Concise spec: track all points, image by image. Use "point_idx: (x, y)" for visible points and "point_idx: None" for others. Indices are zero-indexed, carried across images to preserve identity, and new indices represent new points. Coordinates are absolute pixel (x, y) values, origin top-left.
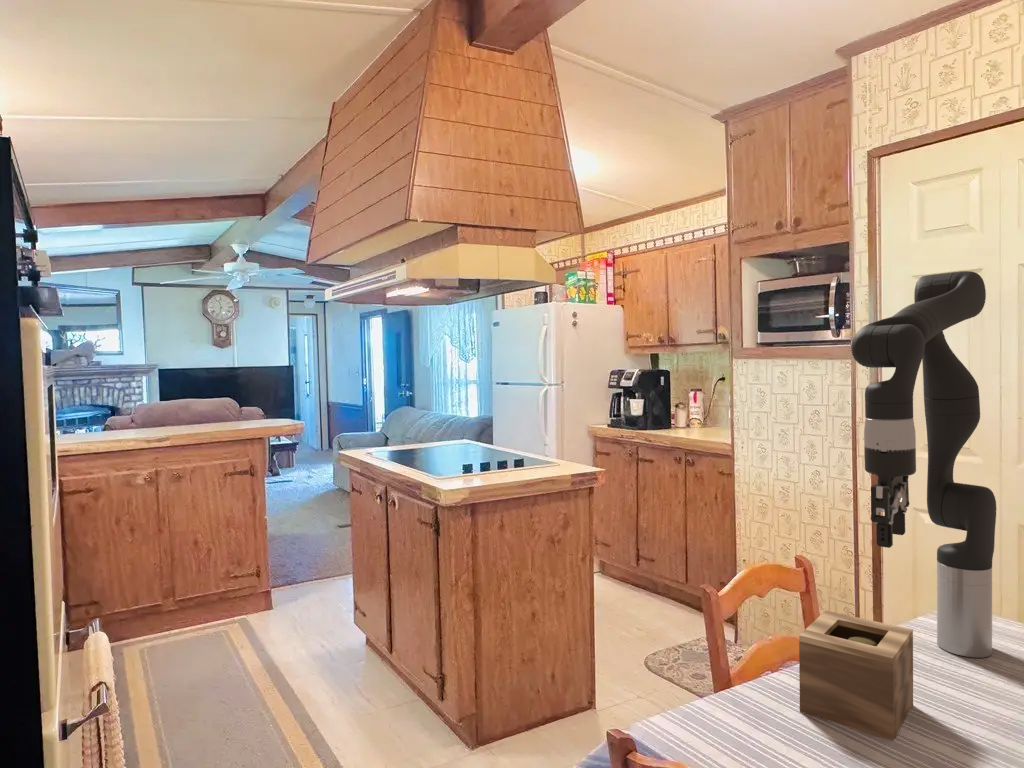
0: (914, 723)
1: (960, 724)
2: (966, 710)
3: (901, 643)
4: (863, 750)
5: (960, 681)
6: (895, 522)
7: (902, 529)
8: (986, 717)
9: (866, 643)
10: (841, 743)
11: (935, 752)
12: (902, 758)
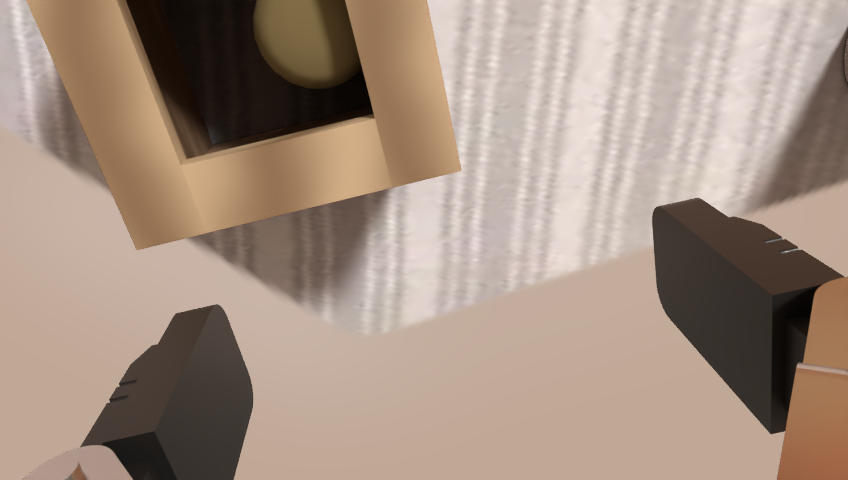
0: None
1: (419, 222)
2: (502, 202)
3: (290, 207)
4: None
5: (663, 127)
6: (711, 294)
7: (680, 320)
8: (501, 243)
9: (288, 61)
10: None
11: (243, 242)
12: None
